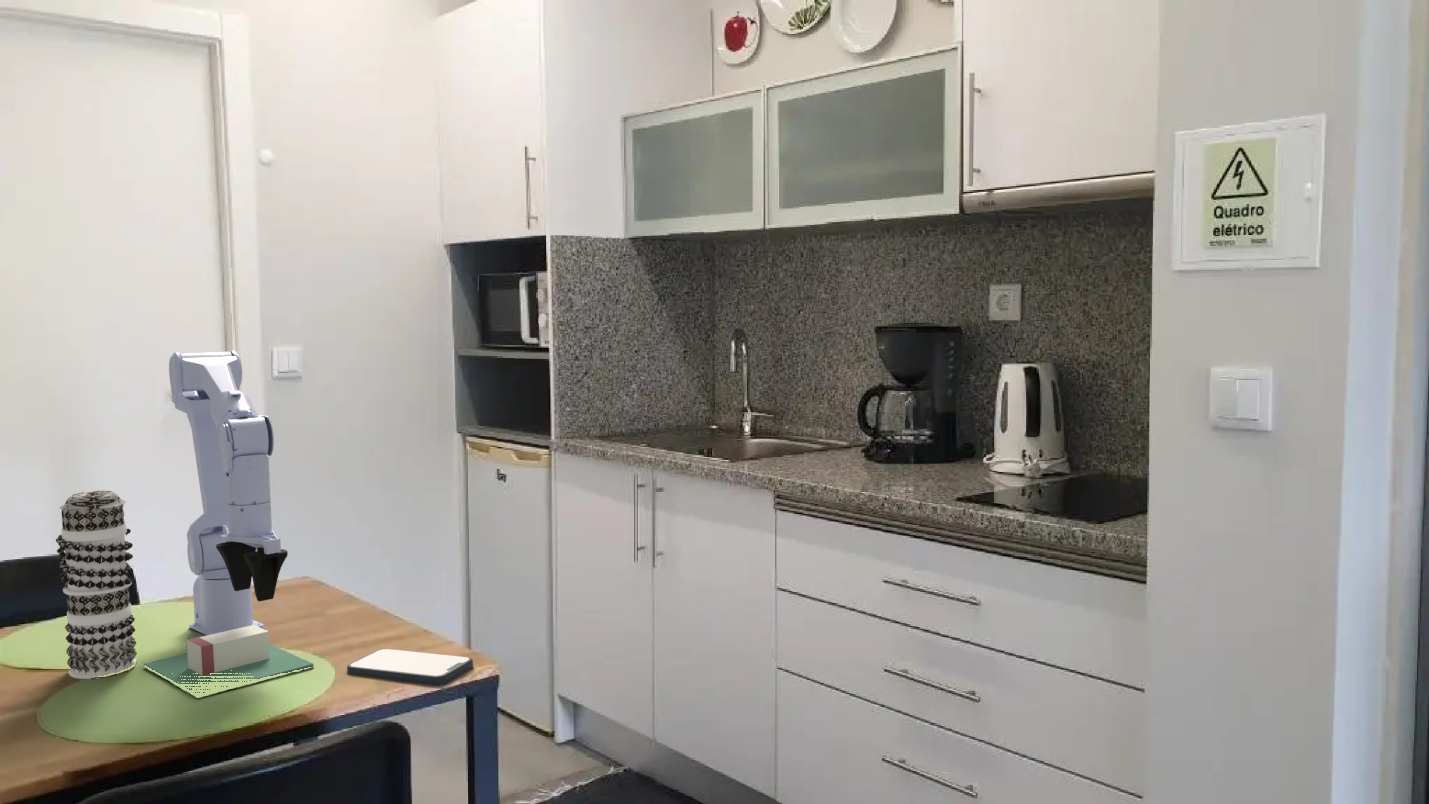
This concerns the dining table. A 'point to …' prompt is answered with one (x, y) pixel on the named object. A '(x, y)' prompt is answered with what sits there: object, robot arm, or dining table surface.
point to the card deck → (227, 649)
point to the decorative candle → (96, 584)
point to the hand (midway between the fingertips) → (253, 594)
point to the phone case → (411, 666)
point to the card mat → (269, 667)
